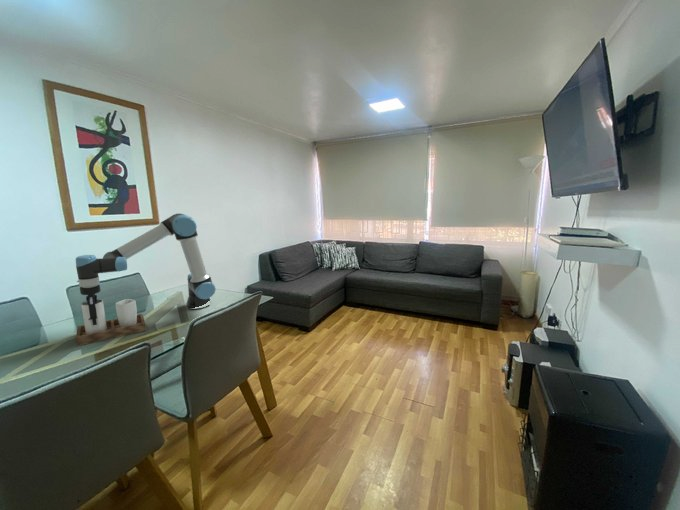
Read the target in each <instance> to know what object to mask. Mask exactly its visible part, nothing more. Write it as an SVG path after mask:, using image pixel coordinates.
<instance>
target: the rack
mask: <svg viewBox="0 0 680 510" xmlns="http://www.w3.org/2000/svg"><path fill="white" fill-rule="evenodd" d="M106 327H107V329H106V330H105V331H100V332H96V333H91V334H86V331H85V325H84V324H81V325H77V329H76V335H75V341H76V346H77V347H80V346H83V345H87V344H92V343H97V342H100V341H106V340H110V339H113V338H119V337H123V336H127V334H128V335H131V334H136V333H140V332H145V331H146V330H147V326H146V321H145V317H144V314H143V313H139V314H138V313H137V322H136V324H134V325H129V326H124V327H120V324H119V321H118V317H117V318H113V319H112V318H111V319H106Z"/></svg>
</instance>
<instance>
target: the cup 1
mask: <svg viewBox="0 0 680 510" xmlns="http://www.w3.org/2000/svg"><path fill="white" fill-rule="evenodd" d="M80 304H81V311H82V318H83V325H85V331H86V334H91V333H96V332H100V331H105V330H106V329H107V327H106V321H107V319H106V313H105V305H104V301H103V299H99V298H97V304H95V307H96V312H97V317H98V323H99V330H95V331H92V326H91V320H89V318H90V313H89V306H88V304H87V301H86V300H85V301H82V302H81V303H80Z"/></svg>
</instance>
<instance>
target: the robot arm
mask: <svg viewBox="0 0 680 510" xmlns="http://www.w3.org/2000/svg"><path fill="white" fill-rule="evenodd" d="M197 227H198V225H197V222H196V221H195V219H194V218H192V217H191V216H189V215H187V214H184V213H175V214H172V215H171V216H168V217H167V218H165V219H164V220H162V221H161V222H160V223H159V225H157V226H155V227H153V228H152V229H150V230H148V231H146V232H145V233H143V234H141V235H138V237H135V238H134V239H132V240H130V241H128V242H126V243H124V244H123V245H121V246H119V247H117V248H116V249H114V250H112V251H107V252H106V253H105V254H104V255H103V257H101V258H97V257H96V255H95V254H83V255H79V256H76V257H75V267H76V274H77V280H76V282H77V283H78V284H79V292H80V293H79V294H81V295H82V296H85V301H87V304H88V306H89V313H90V318H89V320H91V326H92V331H95V330H99V323H98V317H97V312H96V307H95V304H97V299H98V296H97V294H99V293H100V292H101V285H100V283H101V282H100V277H99V274H105V273H107V274H108V273H115V272H125V271H127V270H128V261H127V260H128V259H129V258H131V257H133V256H135V255H136V254H139V253H141V252H142V251H144V250H145V249H147V248H149V247H151V246H152V245H154V244H156V243H158V242H159V241H161V240H163V239H164V238H166V237H168V236H173V235H174V237H175V239H176V241H178V242H180V243H179V244H180V246H181V248H182V251H183V254H184V258H185V261H186V263H187V267H188V269H189V272H190V273H189V274H188V275H187V287H188V297H187V300H186V302H185V304H186V308H187V307H188V308H187V309H189V308H195V307H199V306H202V305H204V304H206V303H207V302H208V301H210V300H211V298H212V297H213V296H214V295H215V293H216V286H215V284H214V283H213V281H212V277H211V275H210V274H209V273H208V272H207V270H206V266H205V263H204V260H203V257H202V254H201V250H200V247H199V244H198V241H197V237H198V231H197Z"/></svg>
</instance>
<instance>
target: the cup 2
mask: <svg viewBox="0 0 680 510" xmlns="http://www.w3.org/2000/svg"><path fill="white" fill-rule="evenodd" d="M115 310H116V311H115V312H116V316H117V318H118V321H119V324H120V327H124V326H129V325H134V324H136V322H137V315H138V312H137V302H136V300H135V299H130V298H125V299H122V300H119V301H116V302H115Z"/></svg>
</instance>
